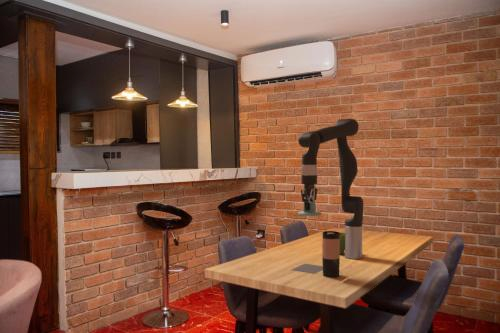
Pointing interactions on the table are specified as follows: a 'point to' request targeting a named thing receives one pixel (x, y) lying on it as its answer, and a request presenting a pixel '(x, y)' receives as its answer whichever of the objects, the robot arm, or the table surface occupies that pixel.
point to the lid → (310, 211)
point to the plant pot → (342, 242)
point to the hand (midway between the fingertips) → (309, 209)
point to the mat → (308, 268)
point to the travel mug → (331, 254)
